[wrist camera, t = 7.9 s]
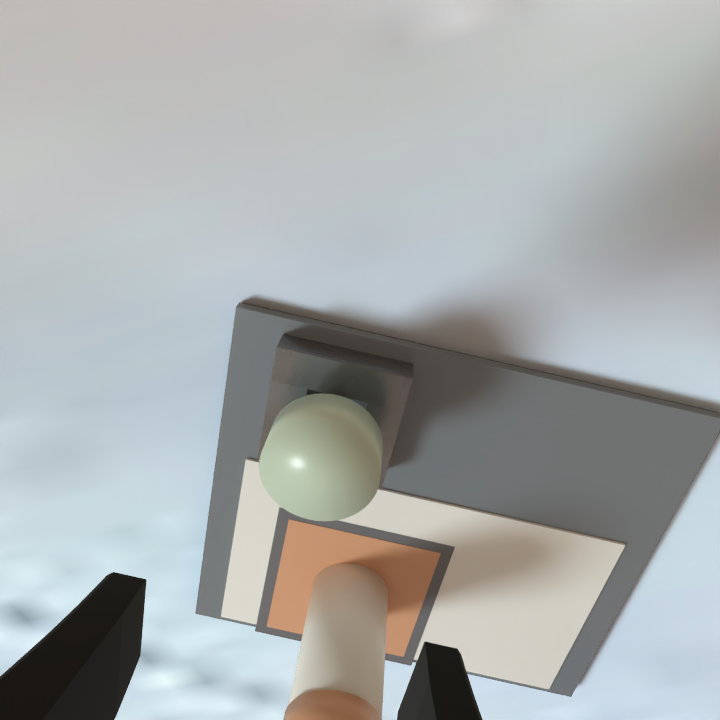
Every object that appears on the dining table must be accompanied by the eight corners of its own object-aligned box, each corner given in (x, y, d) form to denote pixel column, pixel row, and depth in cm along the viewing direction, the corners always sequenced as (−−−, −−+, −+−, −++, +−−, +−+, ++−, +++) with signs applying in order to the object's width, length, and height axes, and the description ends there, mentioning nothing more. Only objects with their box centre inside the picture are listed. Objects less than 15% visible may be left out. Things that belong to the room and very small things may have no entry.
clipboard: (720, 413, 19) (728, 421, 18) (567, 689, 25) (570, 701, 24) (239, 302, 19) (234, 308, 18) (198, 607, 24) (194, 618, 24)
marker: (395, 569, 22) (388, 733, 17) (383, 626, 23) (372, 796, 18) (314, 555, 22) (281, 715, 17) (307, 613, 23) (273, 779, 18)
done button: (396, 387, 18) (393, 436, 16) (371, 475, 19) (365, 532, 17) (288, 362, 18) (268, 408, 15) (271, 452, 19) (251, 506, 17)
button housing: (413, 363, 19) (413, 378, 18) (383, 469, 20) (381, 488, 19) (283, 333, 19) (276, 347, 18) (264, 442, 20) (257, 460, 19)
